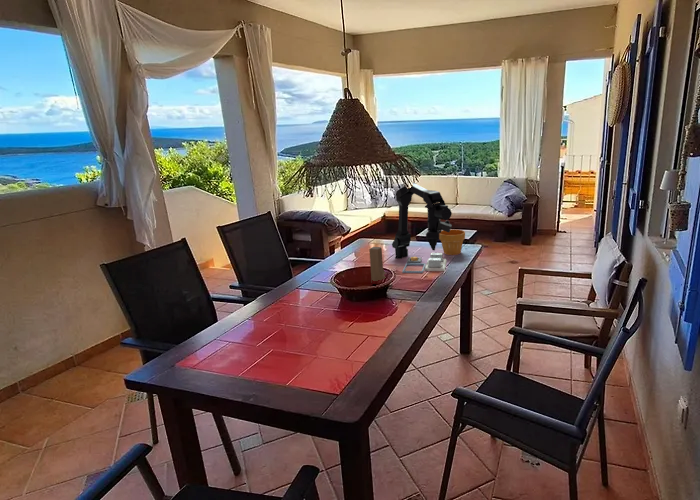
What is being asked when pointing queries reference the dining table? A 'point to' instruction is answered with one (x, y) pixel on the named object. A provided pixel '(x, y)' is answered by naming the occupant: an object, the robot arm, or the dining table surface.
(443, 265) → the white divided tray
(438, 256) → the block
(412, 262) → the grey square frame
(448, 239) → the flower pot
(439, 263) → the billet
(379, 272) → the wooden block
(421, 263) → the tray
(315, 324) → the dining table surface
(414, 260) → the button
